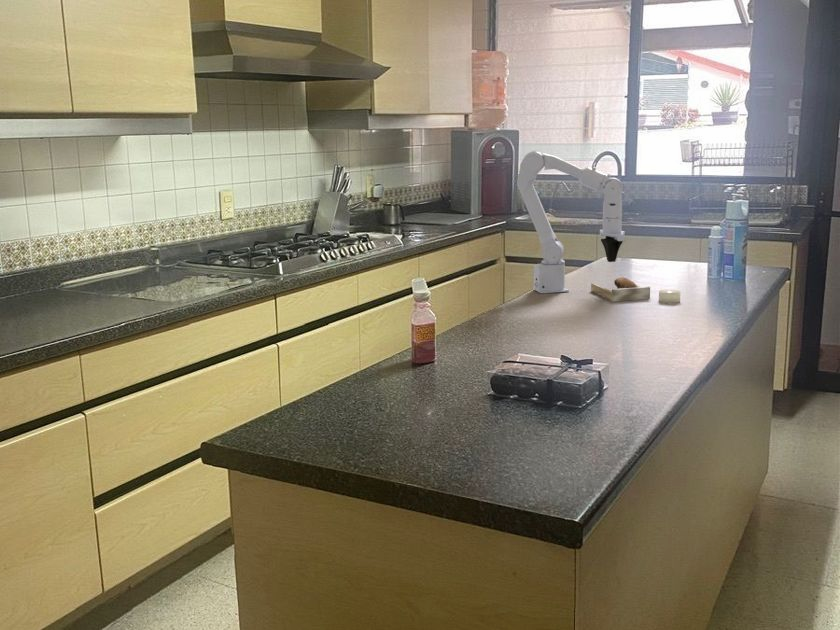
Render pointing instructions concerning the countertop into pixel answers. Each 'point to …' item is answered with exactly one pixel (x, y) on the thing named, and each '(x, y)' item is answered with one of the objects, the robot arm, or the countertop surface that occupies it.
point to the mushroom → (624, 283)
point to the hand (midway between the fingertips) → (611, 261)
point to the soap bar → (669, 296)
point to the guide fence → (622, 293)
